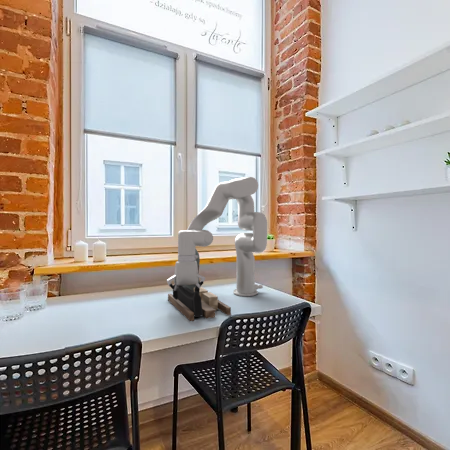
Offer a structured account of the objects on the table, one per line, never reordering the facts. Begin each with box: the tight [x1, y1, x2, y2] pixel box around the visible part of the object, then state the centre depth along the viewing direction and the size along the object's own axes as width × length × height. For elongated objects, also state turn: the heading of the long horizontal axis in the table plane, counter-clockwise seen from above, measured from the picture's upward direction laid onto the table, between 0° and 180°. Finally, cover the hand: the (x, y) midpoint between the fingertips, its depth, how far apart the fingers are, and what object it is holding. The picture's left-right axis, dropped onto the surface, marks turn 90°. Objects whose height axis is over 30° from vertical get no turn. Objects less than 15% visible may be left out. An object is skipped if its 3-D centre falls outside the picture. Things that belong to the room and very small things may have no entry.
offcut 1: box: [194, 286, 209, 300], centre depth 141 cm, size 4×8×6 cm, turn 26°
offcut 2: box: [202, 291, 219, 311], centre depth 131 cm, size 4×8×6 cm, turn 26°
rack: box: [167, 293, 232, 322], centre depth 133 cm, size 18×32×3 cm, turn 26°
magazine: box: [177, 285, 203, 318], centre depth 130 cm, size 17×3×30 cm
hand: (186, 297), depth 130 cm, fingers open, 9 cm apart
